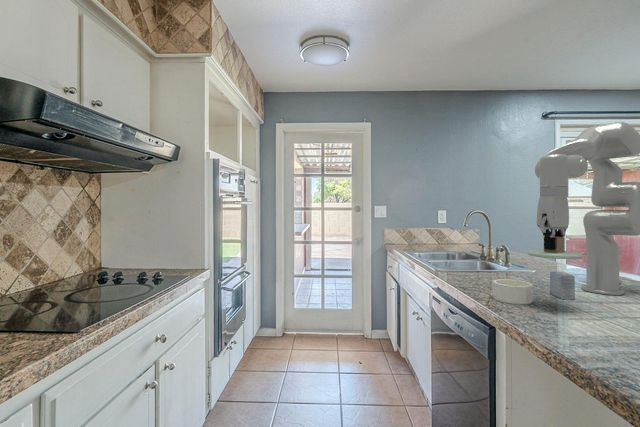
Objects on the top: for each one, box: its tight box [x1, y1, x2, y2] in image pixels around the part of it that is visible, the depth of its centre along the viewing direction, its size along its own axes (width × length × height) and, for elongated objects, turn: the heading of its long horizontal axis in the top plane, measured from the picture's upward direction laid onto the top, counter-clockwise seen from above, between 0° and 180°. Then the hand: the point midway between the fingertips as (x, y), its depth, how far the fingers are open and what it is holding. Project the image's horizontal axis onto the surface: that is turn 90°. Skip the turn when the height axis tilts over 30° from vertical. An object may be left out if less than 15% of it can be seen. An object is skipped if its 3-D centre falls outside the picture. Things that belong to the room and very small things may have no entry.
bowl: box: [492, 278, 534, 306], centre depth 113 cm, size 12×12×6 cm
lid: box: [527, 236, 583, 260], centre depth 103 cm, size 14×14×6 cm
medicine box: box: [549, 271, 576, 301], centre depth 116 cm, size 8×4×9 cm, turn 168°
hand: (553, 248), depth 103 cm, fingers closed on lid, 4 cm apart
